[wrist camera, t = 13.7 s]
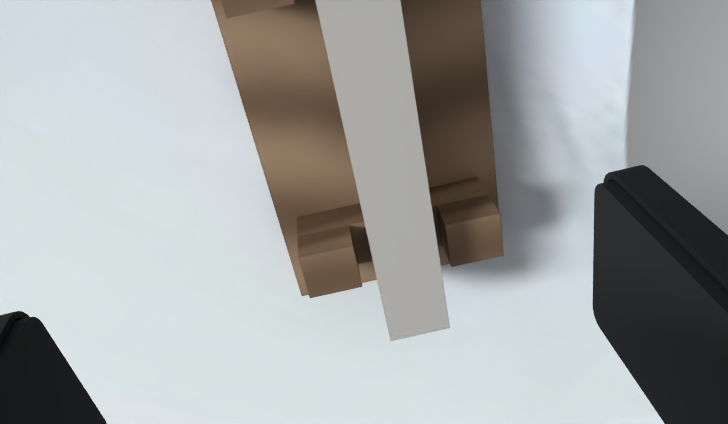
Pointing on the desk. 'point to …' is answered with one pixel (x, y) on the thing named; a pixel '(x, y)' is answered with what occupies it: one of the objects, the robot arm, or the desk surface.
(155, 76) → the desk surface
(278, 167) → the wooden pegged board
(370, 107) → the clay strip
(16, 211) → the desk surface
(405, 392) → the desk surface
